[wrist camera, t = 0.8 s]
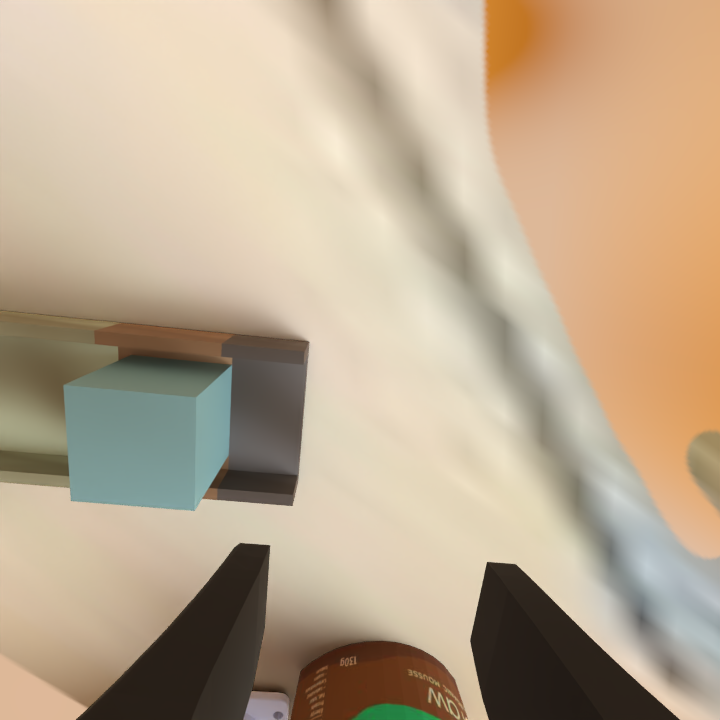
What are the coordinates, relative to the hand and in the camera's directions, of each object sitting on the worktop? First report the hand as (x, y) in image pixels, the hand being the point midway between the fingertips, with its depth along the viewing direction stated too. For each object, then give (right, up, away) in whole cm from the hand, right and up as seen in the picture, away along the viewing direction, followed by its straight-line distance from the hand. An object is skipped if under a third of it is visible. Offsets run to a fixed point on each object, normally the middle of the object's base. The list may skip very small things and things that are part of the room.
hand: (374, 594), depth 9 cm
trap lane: (-10, +3, +9) cm, 14 cm away
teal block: (-8, +3, +8) cm, 12 cm away
